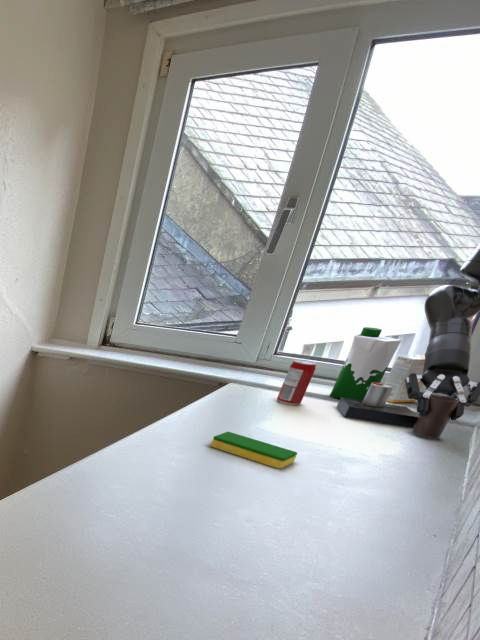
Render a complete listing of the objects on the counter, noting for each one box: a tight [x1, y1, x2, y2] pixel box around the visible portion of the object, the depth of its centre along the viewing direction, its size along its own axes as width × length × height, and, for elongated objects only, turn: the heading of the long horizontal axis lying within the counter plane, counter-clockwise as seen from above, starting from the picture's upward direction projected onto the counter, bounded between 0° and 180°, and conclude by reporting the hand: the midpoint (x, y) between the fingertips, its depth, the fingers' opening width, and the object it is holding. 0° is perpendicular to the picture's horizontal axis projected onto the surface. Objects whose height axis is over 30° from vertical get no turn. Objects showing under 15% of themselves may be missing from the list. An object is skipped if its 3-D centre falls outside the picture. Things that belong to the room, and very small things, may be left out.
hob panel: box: [336, 397, 420, 429], centre depth 146 cm, size 14×10×3 cm
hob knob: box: [362, 382, 393, 407], centre depth 145 cm, size 4×4×6 cm
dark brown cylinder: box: [411, 395, 459, 438], centre depth 133 cm, size 5×5×9 cm
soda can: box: [276, 359, 317, 406], centre depth 154 cm, size 6×6×12 cm
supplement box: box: [384, 354, 425, 404], centre depth 160 cm, size 8×5×13 cm, turn 100°
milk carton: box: [329, 326, 402, 400], centre depth 158 cm, size 9×9×20 cm
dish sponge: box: [210, 431, 298, 470], centre depth 119 cm, size 7×14×2 cm, turn 34°
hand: (439, 415), depth 131 cm, fingers closed on dark brown cylinder, 5 cm apart
